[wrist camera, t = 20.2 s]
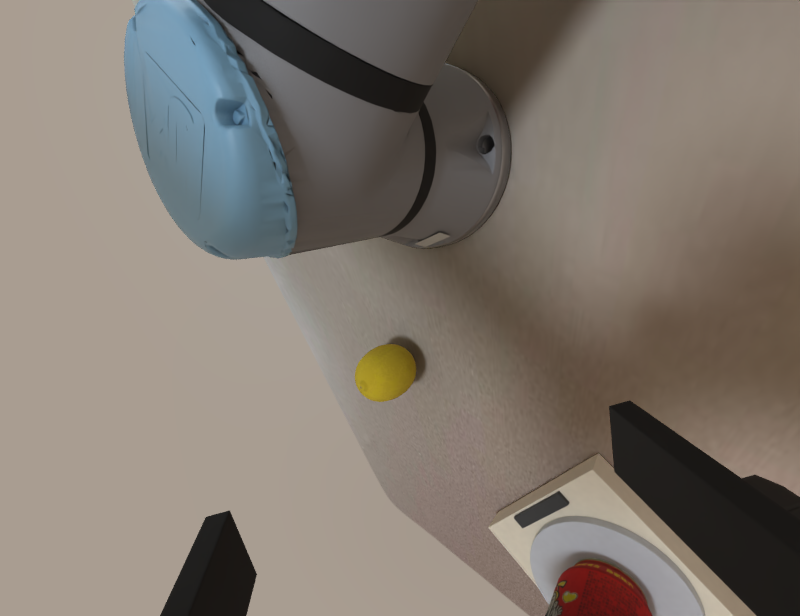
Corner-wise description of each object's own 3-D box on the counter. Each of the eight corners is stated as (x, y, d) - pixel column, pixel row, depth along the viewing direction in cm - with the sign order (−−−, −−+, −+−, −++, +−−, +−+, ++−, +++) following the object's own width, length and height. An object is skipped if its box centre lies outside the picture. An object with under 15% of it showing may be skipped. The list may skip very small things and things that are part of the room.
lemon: (392, 328, 44) (341, 351, 38) (433, 345, 41) (386, 374, 35) (387, 370, 46) (338, 398, 40) (426, 389, 43) (380, 424, 37)
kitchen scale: (497, 511, 41) (484, 533, 39) (598, 452, 33) (590, 475, 31) (619, 654, 37) (613, 689, 34) (770, 627, 29) (777, 670, 26)
